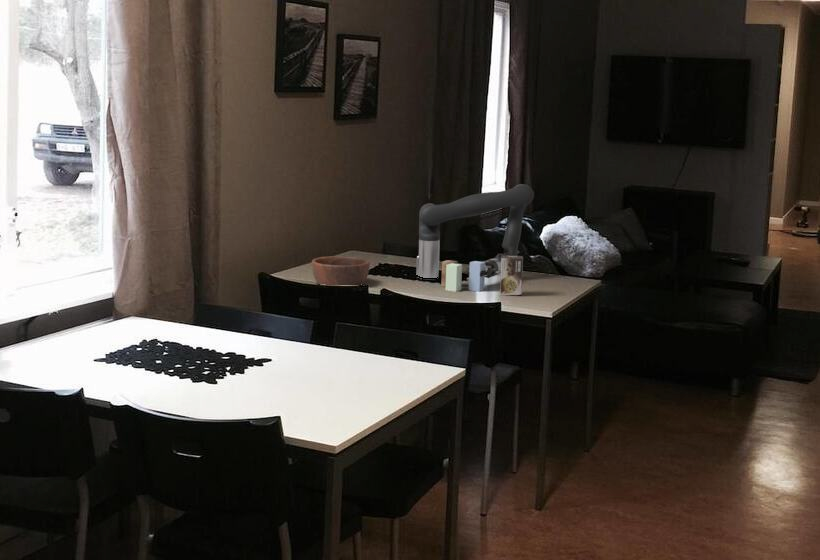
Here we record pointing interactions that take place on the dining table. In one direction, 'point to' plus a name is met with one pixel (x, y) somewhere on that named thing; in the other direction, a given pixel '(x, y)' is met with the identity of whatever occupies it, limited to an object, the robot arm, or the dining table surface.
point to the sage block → (453, 277)
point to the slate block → (476, 276)
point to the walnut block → (443, 283)
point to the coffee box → (511, 274)
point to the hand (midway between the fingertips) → (474, 273)
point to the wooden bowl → (340, 270)
